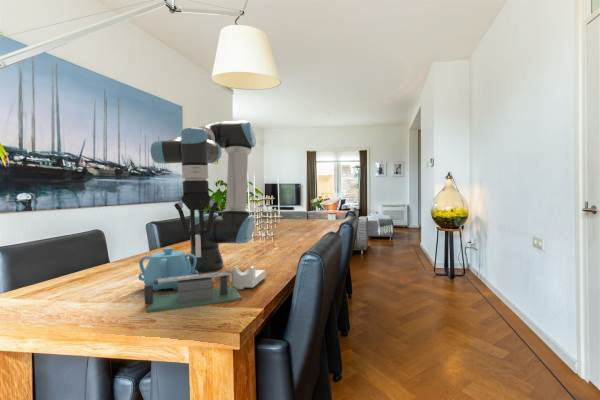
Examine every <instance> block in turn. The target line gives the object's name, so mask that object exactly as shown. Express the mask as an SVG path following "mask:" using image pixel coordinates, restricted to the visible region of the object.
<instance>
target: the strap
mask: <svg viewBox="0 0 600 400" xmlns="http://www.w3.org/2000/svg"><path fill="white" fill-rule="evenodd" d="M225 275H226V276H228V280H229V282H230V283H231V282H233V271H232V270H226V271H216V272H206V273H198V274H196V273H195V274H194V275H187V276H177V277H168V278H159V279H158V278H155V279H154V282H153V283H154V284H157V283H163V282H172V281H180V280H189V279H198V278H207V277H212V278H216V277H219V276H225Z"/></svg>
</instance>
